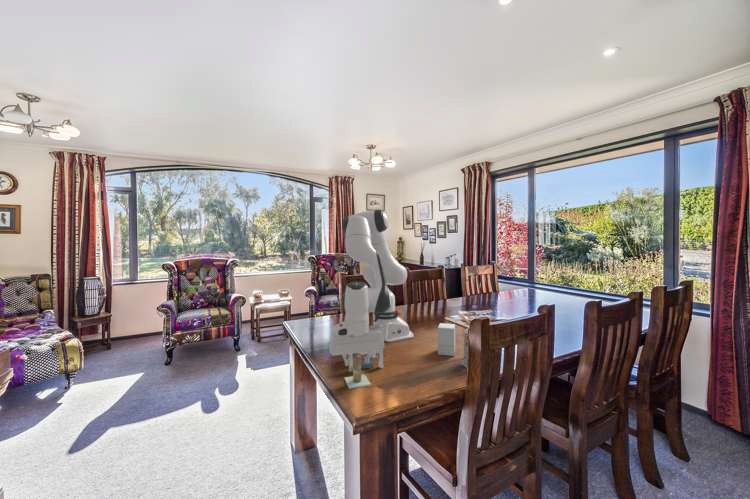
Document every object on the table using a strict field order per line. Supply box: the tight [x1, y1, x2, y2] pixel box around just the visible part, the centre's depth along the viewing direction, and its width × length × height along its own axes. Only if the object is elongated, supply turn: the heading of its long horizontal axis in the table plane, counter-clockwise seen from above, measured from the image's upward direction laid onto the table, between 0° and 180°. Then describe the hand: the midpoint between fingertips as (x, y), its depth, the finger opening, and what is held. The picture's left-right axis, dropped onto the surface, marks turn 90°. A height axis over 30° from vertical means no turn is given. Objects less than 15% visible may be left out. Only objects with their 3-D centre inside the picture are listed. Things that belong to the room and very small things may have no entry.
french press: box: [461, 305, 477, 369], centre depth 133 cm, size 10×12×25 cm
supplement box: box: [437, 322, 456, 357], centre depth 145 cm, size 7×7×13 cm
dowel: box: [352, 353, 362, 383], centre depth 117 cm, size 3×3×10 cm
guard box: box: [343, 349, 384, 373], centre depth 133 cm, size 14×12×7 cm
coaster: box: [344, 374, 372, 390], centre depth 117 cm, size 8×8×1 cm
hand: (357, 363), depth 117 cm, fingers open, 6 cm apart
